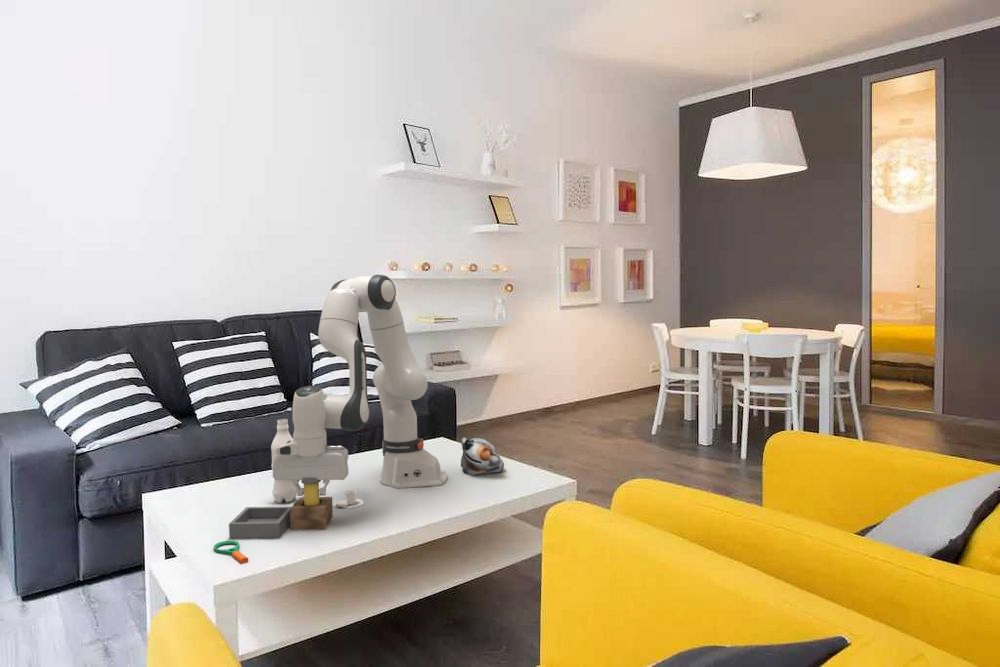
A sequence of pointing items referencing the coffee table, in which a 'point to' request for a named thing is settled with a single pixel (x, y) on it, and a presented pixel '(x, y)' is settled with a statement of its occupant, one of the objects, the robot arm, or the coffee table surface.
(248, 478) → the coffee table surface
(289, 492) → the water bottle
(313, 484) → the peg
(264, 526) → the tray
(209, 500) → the coffee table surface
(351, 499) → the teacup and saucer
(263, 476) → the coffee table surface
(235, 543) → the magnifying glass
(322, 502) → the holder
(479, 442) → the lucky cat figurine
